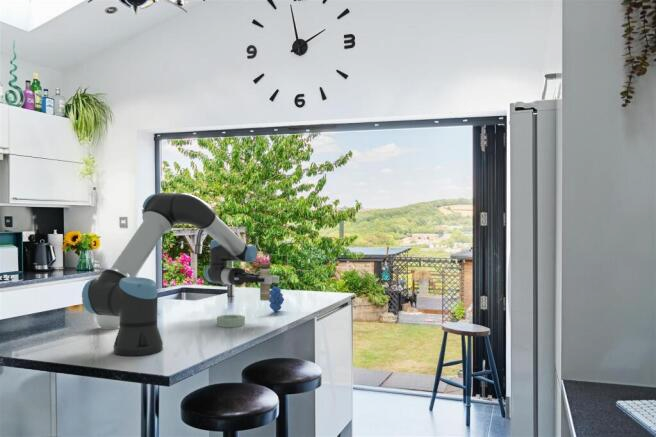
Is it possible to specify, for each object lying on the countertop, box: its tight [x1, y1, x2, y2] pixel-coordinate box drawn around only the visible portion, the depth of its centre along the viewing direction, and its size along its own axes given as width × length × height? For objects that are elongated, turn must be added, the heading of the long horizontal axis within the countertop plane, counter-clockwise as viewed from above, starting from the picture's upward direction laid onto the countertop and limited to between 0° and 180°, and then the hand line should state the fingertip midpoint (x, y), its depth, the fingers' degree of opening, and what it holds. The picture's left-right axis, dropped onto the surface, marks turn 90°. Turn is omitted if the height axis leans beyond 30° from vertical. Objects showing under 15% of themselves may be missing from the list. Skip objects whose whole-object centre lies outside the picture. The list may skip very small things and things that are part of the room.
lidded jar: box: [95, 314, 120, 330], centre depth 214 cm, size 11×11×9 cm
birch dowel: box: [259, 262, 271, 302], centre depth 227 cm, size 4×4×15 cm
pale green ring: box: [216, 314, 246, 328], centre depth 222 cm, size 11×11×3 cm
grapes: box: [268, 285, 285, 313], centre depth 251 cm, size 12×7×12 cm, turn 159°
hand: (274, 280), depth 223 cm, fingers closed on birch dowel, 4 cm apart
